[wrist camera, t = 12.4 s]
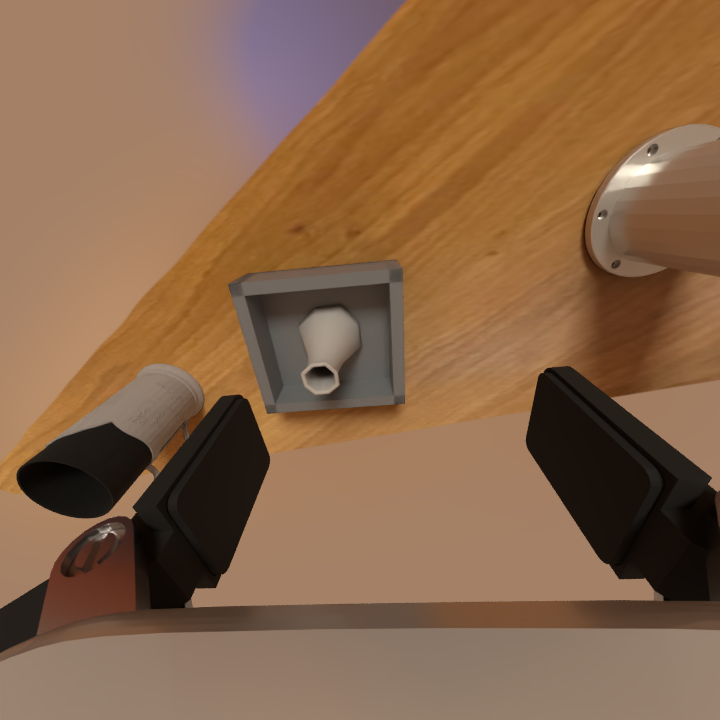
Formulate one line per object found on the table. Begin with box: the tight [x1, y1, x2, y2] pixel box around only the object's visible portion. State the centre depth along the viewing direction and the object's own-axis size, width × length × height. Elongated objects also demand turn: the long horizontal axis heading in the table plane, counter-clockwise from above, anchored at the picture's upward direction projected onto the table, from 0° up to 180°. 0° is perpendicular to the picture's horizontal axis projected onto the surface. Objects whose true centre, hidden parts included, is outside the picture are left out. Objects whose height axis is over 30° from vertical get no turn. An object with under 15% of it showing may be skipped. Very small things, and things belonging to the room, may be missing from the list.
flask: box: [298, 304, 362, 395], centre depth 28 cm, size 7×7×10 cm
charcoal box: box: [228, 260, 405, 414], centre depth 31 cm, size 16×15×5 cm
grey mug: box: [17, 364, 204, 518], centre depth 32 cm, size 9×14×15 cm, turn 36°
